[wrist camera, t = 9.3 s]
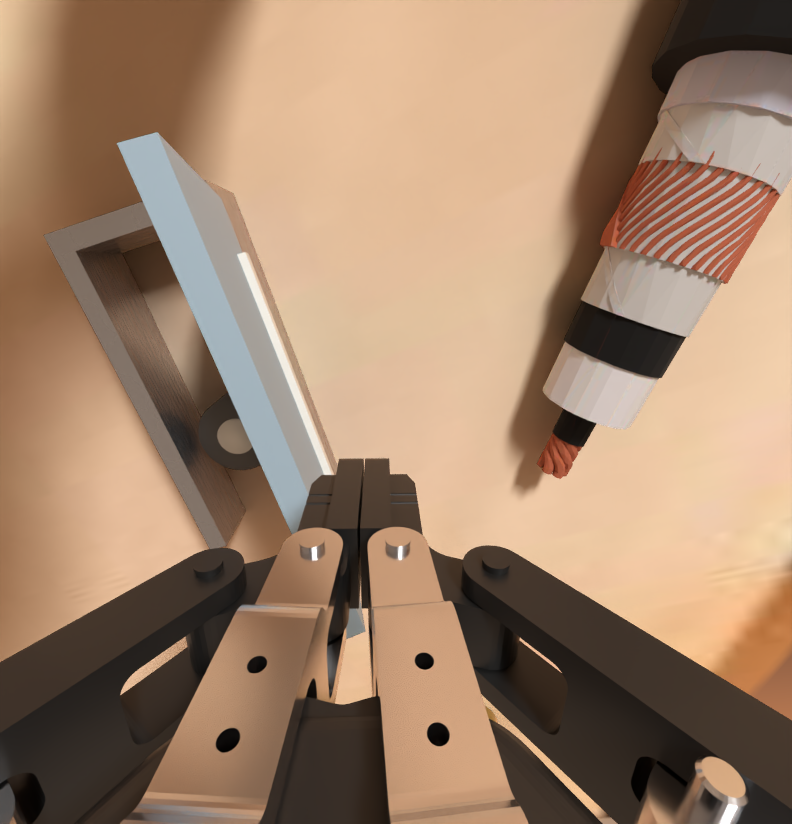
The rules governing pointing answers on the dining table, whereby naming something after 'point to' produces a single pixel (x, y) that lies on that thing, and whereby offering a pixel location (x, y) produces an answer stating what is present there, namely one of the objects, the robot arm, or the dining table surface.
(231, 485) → the grey rectangular box
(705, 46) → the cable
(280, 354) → the cover
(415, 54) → the dining table surface
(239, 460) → the dark grey tape roll
